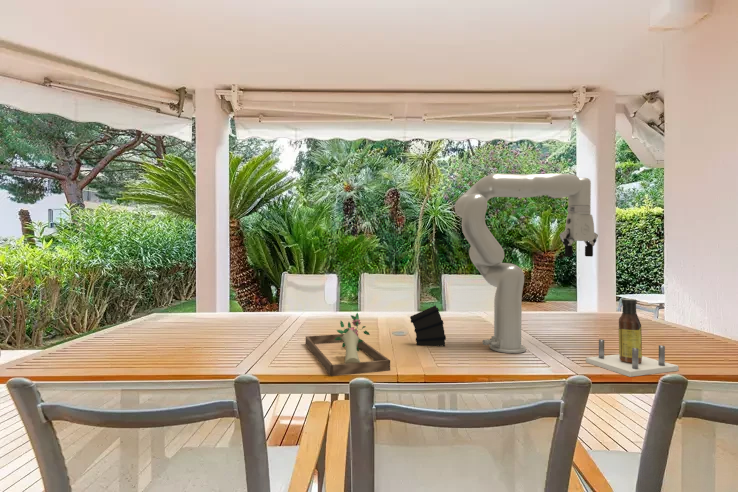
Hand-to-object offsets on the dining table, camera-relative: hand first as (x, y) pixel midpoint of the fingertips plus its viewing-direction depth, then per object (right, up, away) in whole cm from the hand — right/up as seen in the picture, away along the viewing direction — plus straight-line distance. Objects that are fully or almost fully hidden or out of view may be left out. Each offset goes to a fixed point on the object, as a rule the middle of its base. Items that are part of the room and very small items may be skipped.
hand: (578, 256), depth 158 cm
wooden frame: (-88, -34, -15) cm, 96 cm away
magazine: (-57, -34, +2) cm, 66 cm away
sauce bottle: (+4, -33, -25) cm, 41 cm away
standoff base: (+4, -34, -25) cm, 43 cm away
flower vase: (-85, -34, -17) cm, 93 cm away
